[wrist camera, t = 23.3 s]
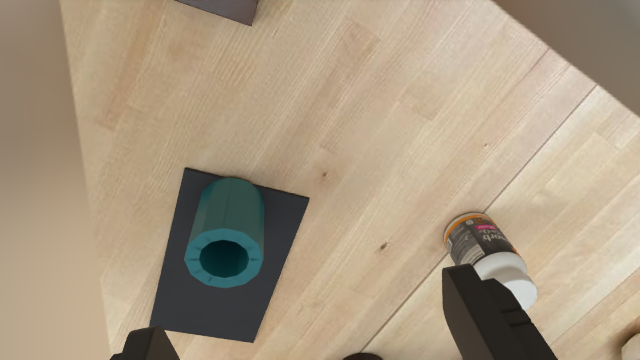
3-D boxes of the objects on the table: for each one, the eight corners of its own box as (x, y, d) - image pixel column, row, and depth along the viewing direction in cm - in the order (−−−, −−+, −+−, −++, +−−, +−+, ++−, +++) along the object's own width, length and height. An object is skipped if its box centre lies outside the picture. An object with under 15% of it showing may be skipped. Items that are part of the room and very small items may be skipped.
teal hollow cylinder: (194, 223, 41) (178, 280, 34) (207, 170, 38) (193, 221, 31) (254, 235, 42) (251, 293, 35) (271, 186, 40) (271, 238, 33)
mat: (149, 324, 47) (148, 327, 47) (185, 167, 38) (184, 169, 38) (253, 340, 50) (253, 343, 50) (309, 197, 41) (309, 199, 41)
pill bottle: (503, 218, 45) (557, 283, 37) (474, 257, 48) (519, 327, 39) (459, 203, 44) (506, 268, 35) (432, 245, 46) (469, 315, 37)
